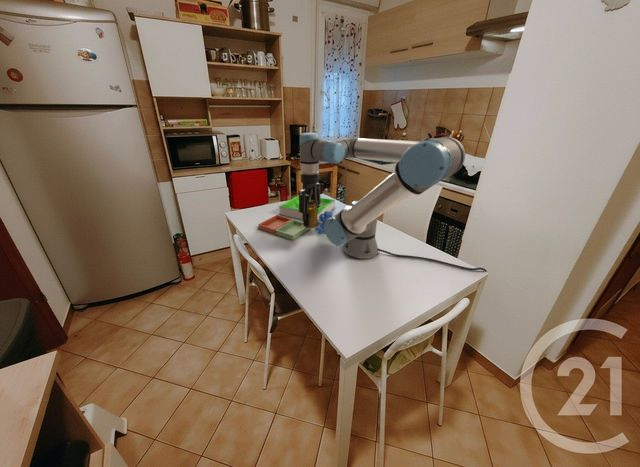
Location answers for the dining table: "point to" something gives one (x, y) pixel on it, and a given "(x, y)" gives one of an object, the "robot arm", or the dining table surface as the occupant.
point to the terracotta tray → (274, 223)
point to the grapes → (323, 221)
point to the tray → (293, 207)
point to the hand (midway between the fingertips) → (310, 223)
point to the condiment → (312, 215)
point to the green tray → (291, 230)
